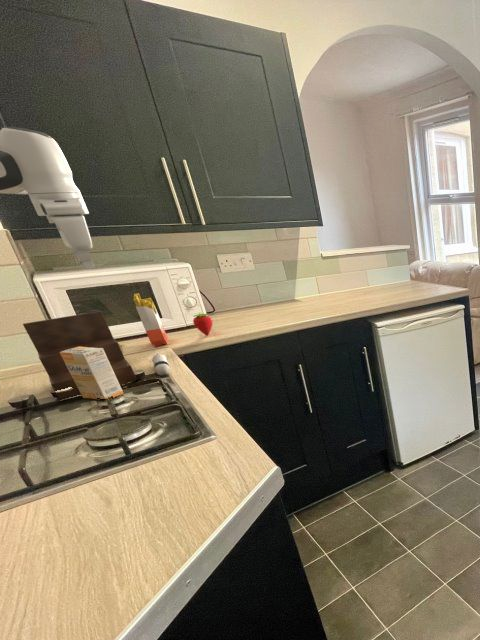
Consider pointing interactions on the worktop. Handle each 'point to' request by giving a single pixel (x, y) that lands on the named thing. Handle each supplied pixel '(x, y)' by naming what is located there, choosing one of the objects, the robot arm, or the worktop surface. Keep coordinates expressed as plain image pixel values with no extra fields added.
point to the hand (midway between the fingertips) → (87, 267)
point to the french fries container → (150, 320)
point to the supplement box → (92, 372)
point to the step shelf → (72, 334)
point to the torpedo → (161, 364)
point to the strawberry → (203, 323)
